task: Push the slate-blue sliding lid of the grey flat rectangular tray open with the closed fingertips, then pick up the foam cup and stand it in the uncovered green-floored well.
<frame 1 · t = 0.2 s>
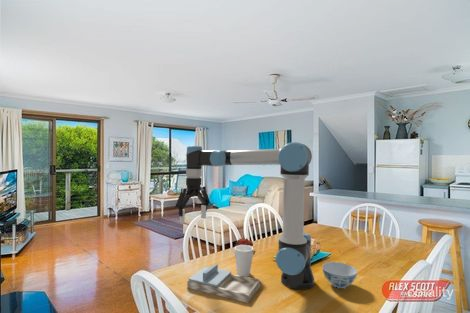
hand: (193, 220, 134), 27 cm above the table, fingers open, 13 cm apart
dragon fruit: (244, 250, 169), on the table
chinaware: (339, 285, 125), on the table
lid: (210, 272, 125), point 5 cm above the table, slide at 0.0 cm
grey flat rectangular tray: (224, 287, 122), on the table
foam cup: (243, 274, 135), on the table
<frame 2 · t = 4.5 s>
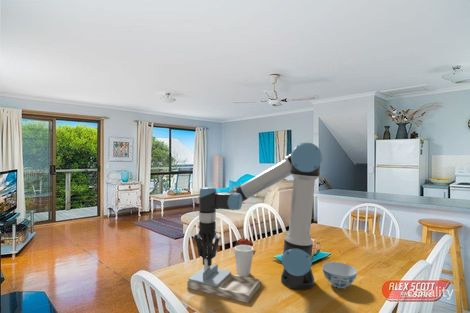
hand: (207, 272, 125), 5 cm above the table, fingers closed
lid: (210, 272, 125), point 5 cm above the table, slide at 0.0 cm, touching gripper
everything else where it was.
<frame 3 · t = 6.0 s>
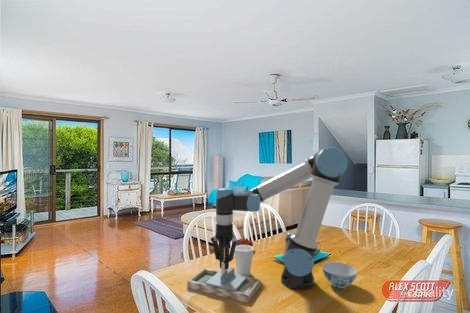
hand: (224, 275, 121), 5 cm above the table, fingers closed
lid: (227, 276, 121), point 5 cm above the table, slide at 8.7 cm, touching gripper
everything else where it was.
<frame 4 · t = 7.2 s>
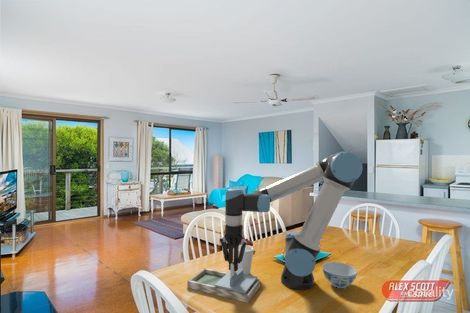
hand: (233, 277, 120), 5 cm above the table, fingers closed
lid: (236, 278, 119), point 5 cm above the table, slide at 13.2 cm, touching gripper
everything else where it was.
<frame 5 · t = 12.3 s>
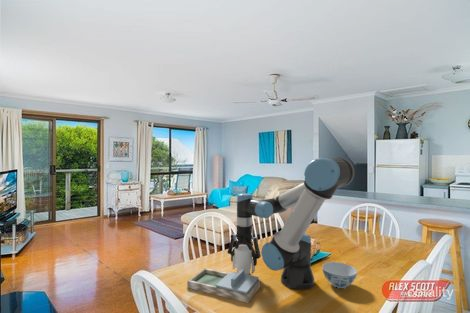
hand: (243, 269, 135), 2 cm above the table, fingers closed on foam cup, 9 cm apart
lid: (237, 278, 119), point 5 cm above the table, slide at 13.7 cm
foam cup: (243, 274, 135), on the table, touching gripper
everything else where it was.
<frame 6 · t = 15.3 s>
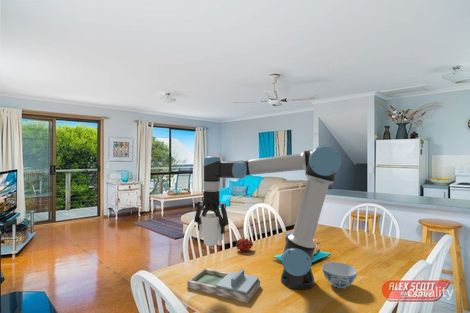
hand: (211, 239, 125), 21 cm above the table, fingers closed on foam cup, 9 cm apart
foam cup: (211, 244, 125), point 18 cm above the table, touching gripper
everything else where it was.
when the fingers open (6 cm above the table, at t = 18.5 s): foam cup drops 2 cm, resting on grey flat rectangular tray.
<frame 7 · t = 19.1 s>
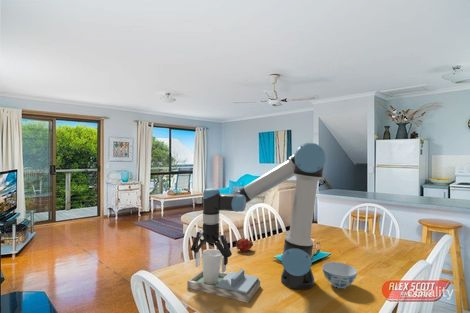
hand: (210, 268, 125), 7 cm above the table, fingers open, 13 cm apart
foam cup: (210, 281, 125), point 1 cm above the table, touching grey flat rectangular tray
everything else where it was.
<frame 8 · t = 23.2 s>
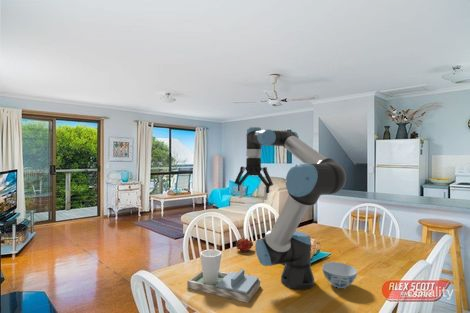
hand: (253, 198, 141), 37 cm above the table, fingers open, 13 cm apart
nothing on the table moved.
at the end: lid slide at 13.7 cm; foam cup inside the target area on the grey flat rectangular tray (0.1 cm from its centre), point 1.0 cm above the grey flat rectangular tray's base; foam cup tilted 0° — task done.
